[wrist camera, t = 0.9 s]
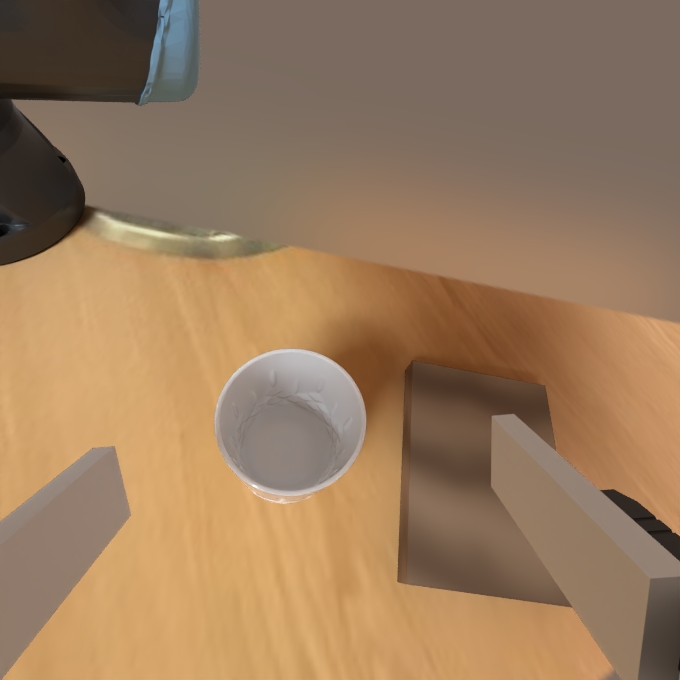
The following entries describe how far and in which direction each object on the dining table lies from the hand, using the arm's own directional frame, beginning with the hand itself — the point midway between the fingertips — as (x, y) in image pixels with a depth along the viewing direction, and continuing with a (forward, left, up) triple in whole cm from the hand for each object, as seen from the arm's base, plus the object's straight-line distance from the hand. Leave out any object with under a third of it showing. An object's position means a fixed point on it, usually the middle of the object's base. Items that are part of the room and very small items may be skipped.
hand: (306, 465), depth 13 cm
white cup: (-4, -1, -16) cm, 16 cm away
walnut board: (-5, +14, -15) cm, 21 cm away
